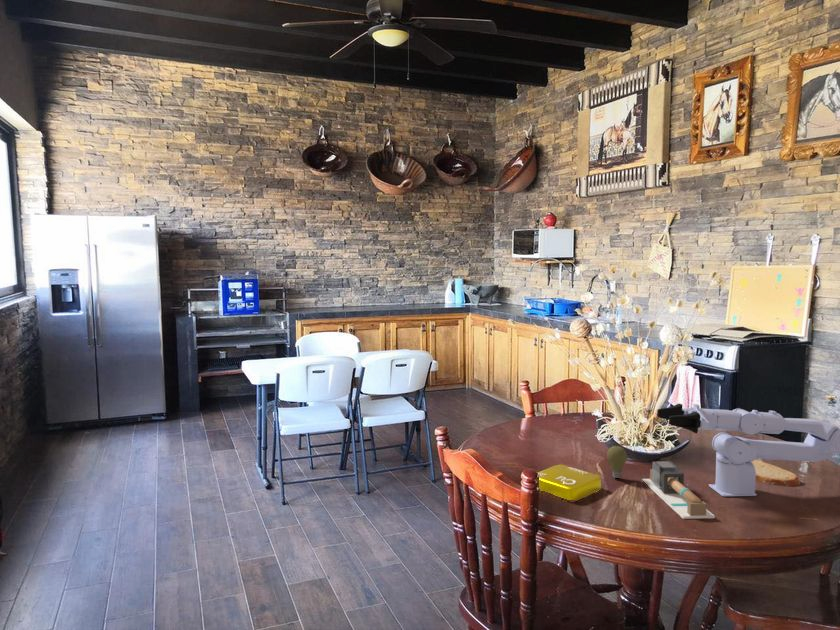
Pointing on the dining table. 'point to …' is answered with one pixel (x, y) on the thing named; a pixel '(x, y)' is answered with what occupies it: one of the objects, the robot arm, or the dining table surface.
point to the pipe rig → (681, 500)
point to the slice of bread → (774, 474)
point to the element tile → (568, 482)
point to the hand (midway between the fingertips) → (663, 416)
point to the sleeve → (662, 467)
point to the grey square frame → (668, 475)
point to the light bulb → (616, 460)
